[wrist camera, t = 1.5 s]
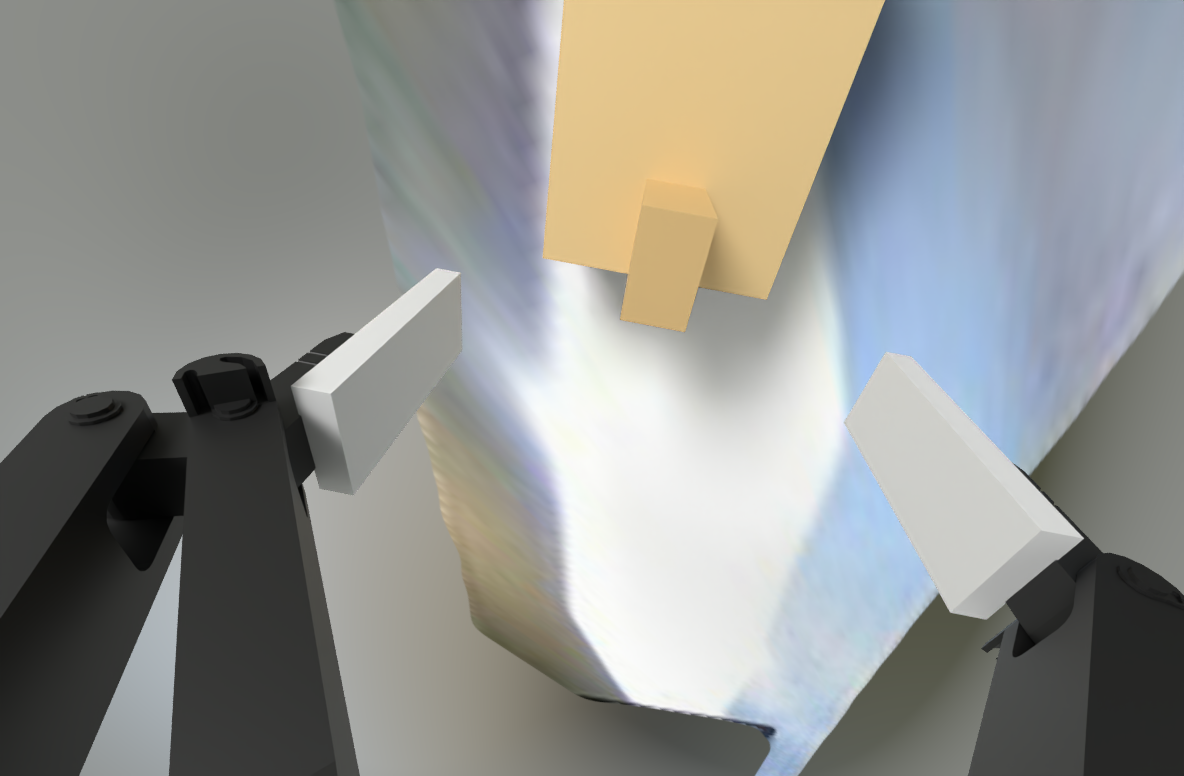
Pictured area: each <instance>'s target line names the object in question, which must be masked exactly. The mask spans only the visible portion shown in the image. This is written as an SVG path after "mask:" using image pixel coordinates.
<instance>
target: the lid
mask: <svg viewBox="0 0 1184 776" xmlns="http://www.w3.org/2000/svg"><path fill="white" fill-rule="evenodd" d="M884 1H885V0H564V6H563V19H562V31H561V43H560V55H559V67H558V79H557V91H556V104H555V116H554V128H553V140H552V152H551V164H550V176H549V189H548V201H547V213H546V225H545V237H544V249H543V258H545V259H551V260H556V261H561V262H567V263H572V264H577V265H583V266H588V267H593V268H599V269H604V270H610V271H615V272H620V273H626V274H628V276H627V282H626V287H625V293H624V299H623V305H622V310H621V316H620V320H623V321H629V322H634V323H639V324H644V325H650V326H655V327H660V328H666V329H671V330H676V331H681V332H685V330H686V327H687V324H688V320H689V317H690V313H691V310H692V307H693V303H694V300H695V297H696V293H697V290H698V287H701V288H706V289H711V290H717V291H722V292H728V293H733V294H738V295H744V296H749V297H754V298H760V299H765V300H767V298H768V295H769V293H770V290H771V288H772V285H773V282H774V280H775V277H776V275H777V272H778V270H779V267H780V265H781V262H782V260H783V257H784V255H785V252H786V250H787V247H788V244H789V242H790V239H791V237H792V234H793V232H794V229H795V227H796V224H797V222H798V219H799V217H800V214H801V212H802V209H803V207H804V204H805V201H806V199H807V196H808V194H809V191H810V189H811V186H812V184H813V181H814V179H815V176H816V174H817V171H818V169H819V166H820V163H821V161H822V158H823V156H824V153H825V151H826V148H827V146H828V143H829V141H830V138H831V136H832V133H833V131H834V128H835V126H836V123H837V120H838V118H839V115H840V113H841V110H842V108H843V105H844V103H845V100H846V98H847V95H848V93H849V90H850V88H851V85H852V82H853V80H854V77H855V75H856V72H857V70H858V67H859V65H860V62H861V60H862V57H863V55H864V52H865V50H866V47H867V45H868V42H869V39H870V37H871V34H872V32H873V29H874V27H875V24H876V22H877V19H878V17H879V14H880V12H881V9H882V7H883V4H884Z"/></svg>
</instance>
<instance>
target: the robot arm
mask: <svg viewBox="0 0 1184 776" xmlns="http://www.w3.org/2000/svg"><path fill="white" fill-rule="evenodd" d="M461 351H462V313H461V273H459V272H453V271H448V270H443V269H437V268H436V269H435V270H434V271H432V272H431V273H430V274H429V275H427V276H426V277H425V278H424V279H423V280H421V281H420V282H419V283H418V284H416V285H415V286H414V287H413V288H411V289H410V290H409V291H408V292H406V293H405V294H404V295H403V296H401V297H400V298H399V299H398V300H397V301H395V302H394V303H393V304H392V305H390V306H389V307H388V308H387V309H385V310H384V311H383V312H382V313H380V314H379V315H378V316H377V317H375V319H373V320H372V321H371V322H370V323H368V324H367V325H366V326H364V327H363V328H362V329H361V330H360V331H358V332H357V333H356V334H352V333H346V332H344V333H341V334H339V335H336V336H334V337H331V338H328V339H326V340H324V341H322V342H321V343H320V344H318V345H317V346H316V347H314V348H313V349H312V350H311V351H310V353H306V354H305V355H304V356H302V357H301V358H300V359H299V361H298V362H295V363H293V364H292V365H291V366H289V367H288V368H286V369H285V370H284V371H282V372H281V373H280V374H278V375H277V376H276V377H275V378H273V379H272V380H270V379H269V375H268V373H267V369H266V366H265V364H264V363H263V361H262V360H261V359H260V358H257V357H255V356H253V355H249V354H241V353H231V354H218V355H214V356H209V357H205V358H201V359H199V360H196V361H194V362H191V363H189V364H187V365H185V366H184V367H183V368H181V369H180V370H178V371H177V372H176V374H175V375H174V377H173V379H172V381H173V383H174V385H175V387H176V389H177V392H178V394H179V396H180V398H181V400H182V402H183V405H184V407H185V409H186V411H187V412H181V413H180V412H179V413H152V412H151V410H150V409H149V406H148V405H147V403H146V401H145V400H144V398H143V397H142V396H141V395H140V394H136V393H133V392H130V391H109V392H101V393H93V394H87V396H81V397H78V398H75V399H73V400H71V401H69V402H67V403H64V404H62V405H60V406H58V407H56V408H55V409H53V410H52V411H51V412H49V413H48V414H47V415H45V416H44V417H43V418H42V419H41V420H40V421H39V423H38V424H37V425H36V426H35V427H34V428H33V429H32V430H31V431H30V432H29V433H28V434H27V435H26V436H25V438H24V439H23V440H22V441H21V442H20V443H19V444H18V445H17V446H16V447H15V448H14V449H13V450H12V451H11V453H10V454H9V455H8V456H7V457H6V458H5V459H4V460H3V461H2V462H1V463H0V776H79V774H80V772H81V770H82V767H83V765H84V763H85V761H86V758H87V756H88V753H89V751H90V749H91V747H92V744H93V742H94V740H95V737H96V735H97V733H98V730H99V728H100V725H101V723H102V721H103V719H104V716H105V714H106V712H107V709H108V707H109V705H110V702H111V700H112V698H113V695H114V693H115V690H116V688H117V686H118V684H119V681H120V679H121V676H122V674H123V672H124V669H125V667H126V665H127V662H128V660H129V658H130V656H131V653H132V651H133V649H134V646H135V644H136V642H137V639H138V637H139V635H140V632H141V630H142V627H143V625H144V623H145V621H146V618H147V616H148V614H149V611H150V609H151V606H152V604H153V602H154V600H155V597H156V595H157V592H158V590H159V588H160V585H161V583H162V581H163V579H164V576H165V574H166V572H167V569H168V567H169V565H170V562H171V560H172V558H173V555H174V553H175V551H176V548H177V546H178V544H179V541H180V539H181V537H182V534H183V540H182V557H181V574H180V592H179V609H178V627H177V644H176V645H177V646H176V662H175V679H174V697H173V715H172V733H171V750H170V768H169V776H360V775H359V769H358V764H357V759H356V754H355V749H354V743H353V738H352V733H351V729H350V723H349V718H348V713H347V707H346V702H345V697H344V691H343V686H342V681H341V676H340V671H339V666H338V660H337V656H336V650H335V645H334V640H333V634H332V629H331V624H330V619H329V614H328V609H327V603H326V598H325V593H324V588H323V583H322V578H321V572H320V567H319V562H318V557H317V551H316V546H315V541H314V536H313V531H312V525H311V520H310V515H309V510H308V504H307V500H306V494H305V490H304V487H303V484H302V483H303V482H304V481H305V479H306V478H307V477H308V476H309V475H310V474H311V473H312V472H313V471H314V470H315V473H316V477H317V480H318V484H319V487H320V489H324V490H330V491H335V492H340V493H345V494H350V495H354V494H355V493H356V491H357V490H358V489H359V487H360V486H361V485H362V483H363V482H364V481H365V479H366V478H367V477H368V475H369V474H370V473H371V471H372V470H373V469H374V467H375V466H376V465H377V463H378V462H379V461H380V459H381V458H382V457H383V455H384V454H385V453H386V451H387V450H388V449H389V447H390V446H391V445H392V443H393V442H394V441H395V439H396V438H397V437H398V435H399V434H400V433H401V431H402V430H403V429H404V427H405V426H406V425H407V423H408V422H409V421H410V419H411V418H412V417H413V415H414V414H415V413H416V411H417V410H418V409H419V407H420V406H421V405H422V403H423V402H424V401H425V399H426V398H427V397H428V395H429V394H430V393H431V391H432V390H433V389H434V387H435V386H436V385H437V383H438V382H439V381H440V379H441V378H442V377H443V375H444V374H445V373H446V371H447V370H448V369H449V367H450V366H451V365H452V363H453V362H454V361H455V359H456V358H457V357H458V355H459V354H460V353H461ZM844 423H845V425H846V427H847V429H848V431H849V432H850V434H851V436H852V438H853V440H854V441H855V443H856V445H857V447H858V448H859V450H860V452H861V454H862V456H863V457H864V459H865V461H866V463H867V465H868V466H869V468H870V470H871V472H872V473H873V475H874V477H875V479H876V481H877V482H878V484H879V486H880V488H881V489H882V491H883V493H884V495H885V497H886V498H887V500H888V502H889V504H890V506H891V507H892V509H893V511H894V513H895V514H896V516H897V518H898V520H899V522H900V523H901V525H902V527H903V529H904V531H905V532H906V534H907V536H908V538H909V539H910V541H911V543H912V545H913V547H914V548H915V550H916V552H917V554H918V556H919V557H920V559H921V561H922V563H923V564H924V566H925V568H926V570H927V572H928V573H929V575H930V577H931V579H932V581H933V582H934V584H935V586H936V588H937V589H938V591H939V593H940V595H941V596H942V598H943V600H944V602H945V604H946V605H947V607H948V609H949V611H950V612H951V613H955V614H961V615H966V616H971V617H976V618H981V619H988V618H989V617H990V616H991V615H992V614H994V613H995V612H996V611H997V610H998V609H1000V608H1001V607H1002V606H1003V605H1004V604H1006V603H1007V605H1008V606H1009V608H1010V609H1011V611H1012V612H1013V614H1014V615H1015V617H1016V618H1017V619H1016V620H1015V621H1014V622H1013V623H1011V624H1010V625H1008V626H1007V627H1006V628H1005V629H1003V630H1002V631H1001V632H999V633H998V634H997V635H996V636H994V637H993V638H992V639H991V640H989V641H988V642H987V643H986V644H985V645H984V646H983V647H982V649H983V650H984V651H985V652H989V651H990V650H992V649H993V648H1000V651H999V655H998V657H997V658H996V659H997V663H996V667H995V671H994V675H993V678H992V682H991V686H990V691H989V695H988V699H987V702H986V706H985V710H984V714H983V718H982V722H981V726H980V730H979V734H978V738H977V742H976V746H975V750H974V754H973V758H972V762H971V766H970V770H969V774H968V776H1184V595H1183V594H1182V593H1181V592H1180V591H1179V590H1178V589H1177V588H1176V587H1174V586H1173V585H1172V584H1171V583H1169V582H1168V581H1167V580H1165V579H1164V578H1163V577H1162V576H1160V575H1159V574H1157V573H1155V572H1154V571H1152V570H1150V569H1149V568H1147V567H1145V566H1144V565H1142V564H1140V563H1137V562H1135V561H1133V560H1131V559H1129V558H1126V557H1124V556H1120V555H1116V554H1112V553H1102V552H1101V551H1100V550H1099V548H1098V547H1096V546H1095V544H1094V543H1093V542H1092V541H1091V540H1090V539H1089V538H1088V537H1087V536H1086V535H1085V534H1084V533H1083V532H1082V531H1081V530H1080V529H1079V528H1078V527H1077V526H1076V525H1075V524H1074V522H1073V521H1072V520H1071V519H1070V518H1069V517H1068V516H1067V515H1066V514H1065V513H1064V512H1063V511H1062V510H1061V509H1060V508H1059V507H1058V506H1055V505H1054V502H1053V501H1052V500H1051V499H1050V498H1049V497H1048V495H1047V494H1046V493H1045V492H1042V491H1040V489H1041V488H1040V487H1039V486H1038V485H1037V484H1036V483H1035V482H1034V481H1033V480H1032V479H1031V478H1030V477H1029V476H1028V475H1027V474H1026V473H1025V472H1024V471H1023V470H1022V469H1020V468H1019V467H1018V466H1016V465H1015V464H1013V463H1012V462H1011V461H1010V460H1009V459H1008V458H1007V457H1006V456H1005V455H1004V454H1003V453H1002V452H1001V451H1000V450H999V449H998V447H997V446H996V445H995V444H994V443H993V442H992V441H991V440H990V439H989V438H988V437H987V436H986V435H985V434H984V433H983V432H982V431H981V430H980V429H979V427H978V426H977V425H976V424H975V423H974V422H973V421H972V420H971V419H970V418H969V417H968V416H967V415H966V414H965V413H964V412H963V411H962V410H961V409H960V407H959V406H958V405H957V404H956V403H955V402H954V401H953V400H952V399H951V398H950V397H949V396H948V395H947V394H946V393H945V392H944V391H943V390H942V389H941V387H940V386H939V385H938V384H937V383H936V382H935V381H934V380H933V379H932V378H931V377H930V376H929V375H928V374H927V373H926V372H925V371H924V370H923V369H922V367H921V366H920V365H919V364H918V363H917V362H916V361H915V360H914V359H913V358H912V357H911V356H905V355H900V354H894V353H889V352H886V353H885V354H884V356H883V358H882V359H881V361H880V363H879V364H878V366H877V368H876V369H875V371H874V373H873V374H872V376H871V378H870V380H869V381H868V383H867V385H866V386H865V388H864V390H863V391H862V393H861V395H860V396H859V398H858V400H857V401H856V403H855V405H854V406H853V408H852V410H851V412H850V413H849V415H848V417H847V418H846V420H845V422H844Z"/></svg>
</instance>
